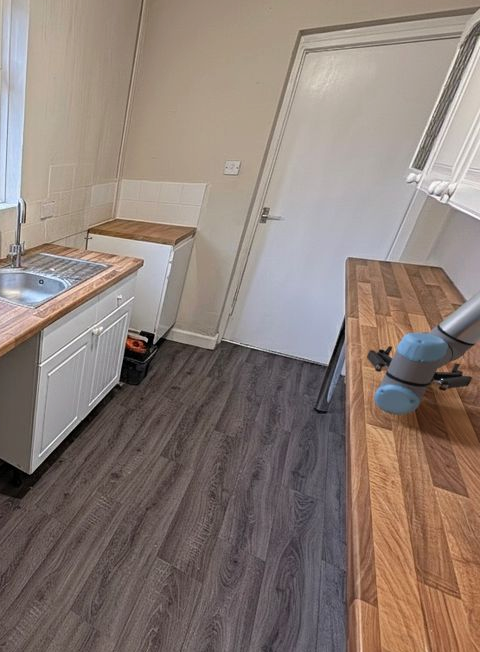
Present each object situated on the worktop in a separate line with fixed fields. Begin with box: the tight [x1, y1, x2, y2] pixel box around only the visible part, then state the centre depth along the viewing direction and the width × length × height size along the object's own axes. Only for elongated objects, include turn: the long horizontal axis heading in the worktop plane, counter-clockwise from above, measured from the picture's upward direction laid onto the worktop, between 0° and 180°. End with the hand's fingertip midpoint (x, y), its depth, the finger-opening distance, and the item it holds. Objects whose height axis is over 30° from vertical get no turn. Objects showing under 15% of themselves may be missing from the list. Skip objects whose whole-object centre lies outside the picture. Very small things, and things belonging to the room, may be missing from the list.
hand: (420, 358), depth 119 cm, fingers open, 13 cm apart
